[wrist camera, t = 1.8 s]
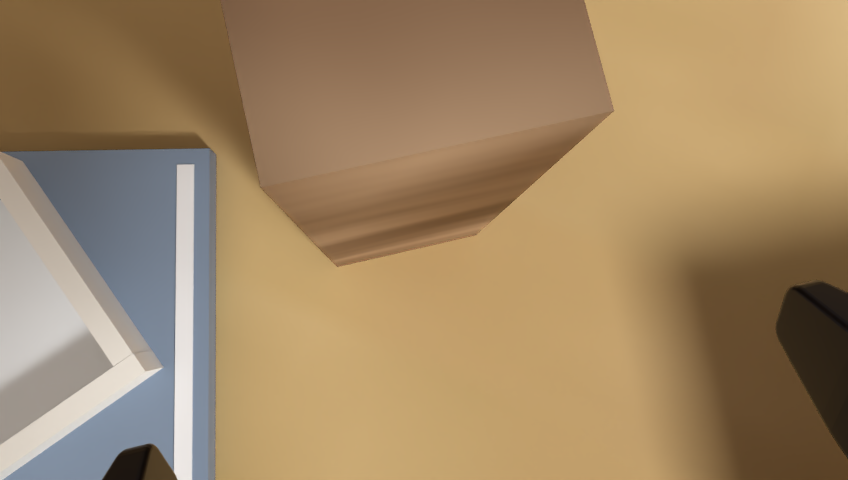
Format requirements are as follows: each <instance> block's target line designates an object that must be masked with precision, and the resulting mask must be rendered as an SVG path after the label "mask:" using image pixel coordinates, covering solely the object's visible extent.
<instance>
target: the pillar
mask: <svg viewBox="0 0 848 480" xmlns="http://www.w3.org/2000/svg"><path fill="white" fill-rule="evenodd" d="M221 5H222V9H223V14H224V19H225V23H226V28H227V33H228V37H229V42H230V47H231V51H232V56H233V61H234V65H235V70H236V75H237V79H238V84H239V89H240V93H241V98H242V102H243V107H244V112H245V116H246V121H247V126H248V130H249V135H250V140H251V144H252V149H253V154H254V158H255V163H256V168H257V172H258V177H259V182H260V186H261V188H262V189H263V191H264V192H265V193H266V194H267V195H268V196H269V197H270V198H271V199H272V200H273V201H274V202H275V203H276V204H277V205H278V206H279V207H280V208H281V209H282V210H283V211H284V212H285V213H286V214H287V215H288V216H289V217H290V218H291V219H292V221H293V222H294V223H295V224H296V225H297V226H298V227H299V228H300V229H301V230H302V231H303V232H304V233H305V234H306V235H307V236H308V237H309V238H310V239H311V240H312V241H313V242H314V243H315V244H316V245H317V246H318V247H319V248H320V249H321V251H322V252H323V253H324V254H325V255H326V256H327V257H328V258H329V259H330V260H331V261H332V262H333V263H334V264H335V265H336V266H337V267H339V266H343V265H348V264H352V263H356V262H361V261H365V260H369V259H374V258H378V257H383V256H387V255H391V254H396V253H400V252H404V251H409V250H413V249H417V248H422V247H426V246H430V245H435V244H439V243H443V242H448V241H452V240H456V239H461V238H465V237H470V236H474V235H476V234H477V233H479V232H480V231H481V230H482V229H483V228H484V227H485V226H486V225H488V224H489V223H490V222H491V221H492V220H493V219H494V218H495V217H496V216H498V215H499V214H500V213H501V212H502V211H503V210H504V209H505V208H506V207H508V206H509V205H510V204H511V203H512V202H513V201H514V200H515V199H516V198H518V197H519V196H520V195H521V194H522V193H523V192H524V191H525V190H526V189H528V188H529V187H530V186H531V185H532V184H533V183H534V182H535V181H536V180H538V179H539V178H540V177H541V176H542V175H543V174H544V173H545V172H546V171H548V170H549V169H550V168H551V167H552V166H553V165H554V164H555V163H556V162H558V161H559V160H560V159H561V158H562V157H563V156H564V155H565V154H566V153H568V152H569V151H570V150H571V149H572V148H573V147H574V146H575V145H576V144H578V143H579V142H580V141H581V140H582V139H583V138H584V137H585V136H586V135H588V134H589V133H590V132H591V131H592V130H593V129H594V128H595V127H597V126H598V125H599V124H600V123H601V122H602V121H603V120H604V119H605V118H607V117H608V116H609V115H610V114H611V113H612V112H613V111H614V109H613V105H612V101H611V98H610V94H609V90H608V87H607V83H606V79H605V75H604V72H603V68H602V64H601V61H600V57H599V53H598V50H597V46H596V42H595V39H594V35H593V31H592V28H591V24H590V20H589V17H588V13H587V9H586V5H585V2H584V0H221Z"/></svg>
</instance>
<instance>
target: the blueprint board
mask: <svg viewBox="0 0 848 480" xmlns="http://www.w3.org/2000/svg"><path fill="white" fill-rule="evenodd" d="M215 361H216V154H215V153H214V152H213V151H212V150H211V149H210V148H204V149H142V150H81V151H19V152H0V480H102V478H103V477H104V475H105V474H106V472H107V471H108V469H109V467H110V466H111V464H112V463H113V461H114V459H115V458H116V457H117V455H118V454H119V453H120V452H121V451H123V450H125V449H127V448H132V447H136V446H140V445H144V444H149V443H151V444H154V445H155V446H156V447H157V448H158V449H159V450H160V452H161V453H162V455H163V456H164V458H165V459H166V461H167V462H168V464H169V466H170V467H171V469H172V470H173V472H174V473H175V475H176V477H177V480H215Z"/></svg>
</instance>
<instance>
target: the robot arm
mask: <svg viewBox="0 0 848 480" xmlns="http://www.w3.org/2000/svg"><path fill="white" fill-rule="evenodd" d="M776 333H777V337H778V340H779V342H780V344H781V345H782V347H783V349H784V351H785V353H786V355H787V356H788V358H789V360H790V362H791V364H792V365H793V367H794V369H795V371H796V373H797V375H798V376H799V378H800V380H801V382H802V384H803V385H804V387H805V389H806V391H807V393H808V394H809V396H810V398H811V400H812V402H813V404H814V405H815V407H816V409H817V411H818V413H819V414H820V416H821V418H822V420H823V421H824V423H825V425H826V426H827V428H828V430H829V432H830V433H831V435H832V436H833V438H834V439H835V441H836V442H837V444H838V445H839V447H840V448H841V450H842V451H843V452H844V454H845V455H846V457H847V458H848V293H847V292H845V291H843V290H841V289H839V288H837V287H834V286H832V285H830V284H828V283H826V282H823V281H819V280H813V281H808V282H804V283H800V284H796V285H792V286H790V287H789V288H788V289H787V291H786V293H785V296H784V299H783V302H782V306H781V309H780V312H779V315H778V318H777V321H776ZM102 480H177V477H176V475H175V473H174V472H173V470H172V469H171V467H170V466H169V464H168V462H167V461H166V459H165V458H164V456H163V455H162V453H161V452H160V450H159V449H158V448H157V447H156V446H155V445H154V444H151V443H149V444H144V445H140V446H136V447H132V448H127V449H125V450H123V451H121V452H120V453H119V454H118V455H117V457H116V458H115V459H114V461H113V463H112V464H111V466H110V467H109V469H108V471H107V472H106V474H105V475H104V477H103V478H102Z"/></svg>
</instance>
